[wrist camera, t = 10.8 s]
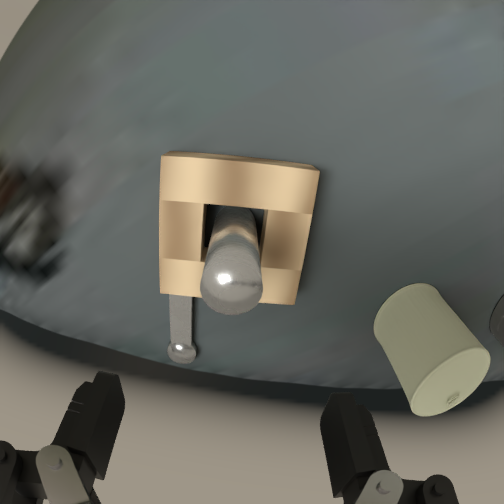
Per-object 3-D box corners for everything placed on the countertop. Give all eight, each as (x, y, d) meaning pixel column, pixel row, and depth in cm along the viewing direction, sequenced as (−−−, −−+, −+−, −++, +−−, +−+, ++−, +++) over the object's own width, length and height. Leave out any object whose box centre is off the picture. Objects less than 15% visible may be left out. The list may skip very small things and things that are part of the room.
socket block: (311, 165, 26) (319, 171, 23) (289, 287, 31) (294, 304, 28) (169, 151, 25) (161, 155, 22) (167, 276, 30) (160, 293, 27)
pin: (258, 206, 27) (267, 264, 17) (253, 244, 29) (258, 317, 19) (216, 202, 27) (201, 258, 17) (213, 240, 29) (199, 312, 19)
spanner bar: (166, 276, 30) (163, 281, 29) (198, 279, 30) (197, 284, 29) (169, 356, 34) (167, 361, 34) (196, 359, 35) (195, 365, 34)
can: (381, 357, 36) (415, 431, 25) (364, 305, 32) (407, 387, 21) (443, 325, 34) (489, 389, 23) (436, 269, 31) (497, 334, 20)
